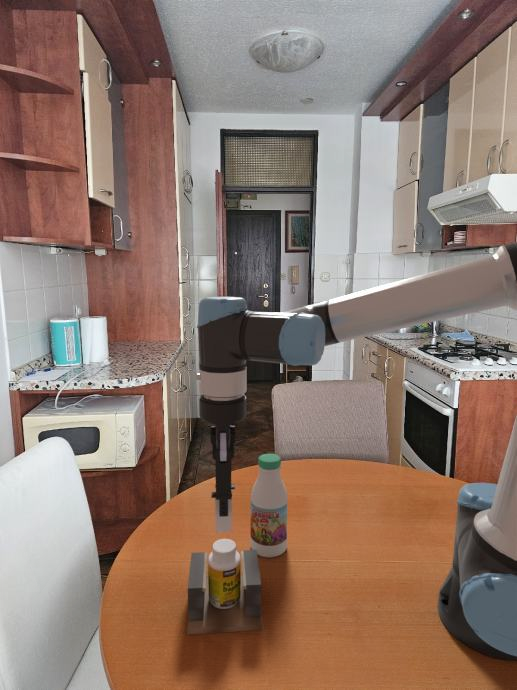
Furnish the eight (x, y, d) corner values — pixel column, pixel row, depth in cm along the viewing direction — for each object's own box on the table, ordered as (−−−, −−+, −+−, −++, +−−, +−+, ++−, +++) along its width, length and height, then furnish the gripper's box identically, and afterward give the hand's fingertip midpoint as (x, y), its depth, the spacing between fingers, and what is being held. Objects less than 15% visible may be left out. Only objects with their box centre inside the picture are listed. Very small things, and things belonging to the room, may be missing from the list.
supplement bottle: (222, 616, 71) (221, 560, 70) (202, 598, 75) (200, 545, 74) (247, 599, 75) (247, 545, 74) (226, 582, 79) (226, 531, 77)
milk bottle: (251, 535, 95) (251, 449, 92) (286, 536, 95) (288, 450, 92) (249, 558, 88) (249, 465, 84) (287, 559, 87) (289, 466, 84)
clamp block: (256, 578, 82) (256, 544, 81) (262, 629, 70) (262, 591, 69) (192, 581, 81) (191, 547, 80) (187, 634, 69) (186, 595, 68)
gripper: (201, 384, 75) (203, 509, 79) (196, 407, 63) (199, 555, 66) (244, 383, 76) (244, 507, 80) (248, 406, 63) (248, 552, 67)
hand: (223, 529), depth 73 cm, fingers closed
